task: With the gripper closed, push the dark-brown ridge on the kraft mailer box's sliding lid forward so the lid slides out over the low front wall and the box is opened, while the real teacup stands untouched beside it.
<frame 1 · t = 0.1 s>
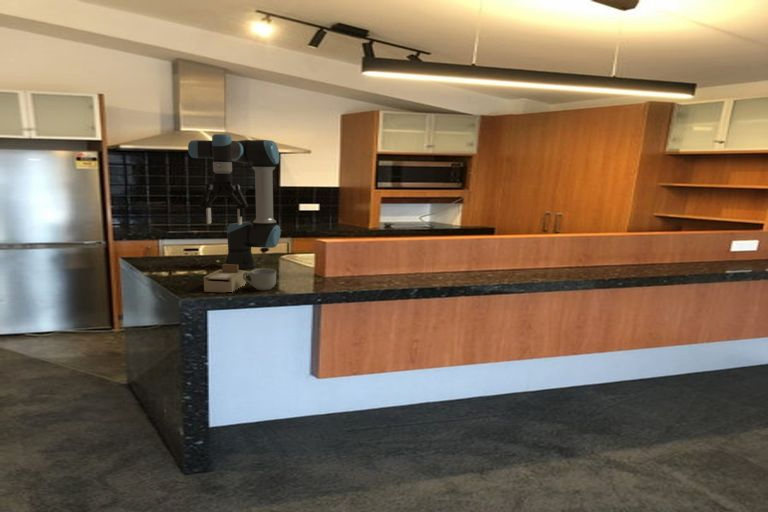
hand: (224, 224, 221), 28 cm above the counter, fingers open, 13 cm apart
teacup: (260, 289, 227), on the counter
mailer box: (225, 287, 227), on the counter
lid: (225, 271, 226), point 7 cm above the counter, slide at 0.0 cm
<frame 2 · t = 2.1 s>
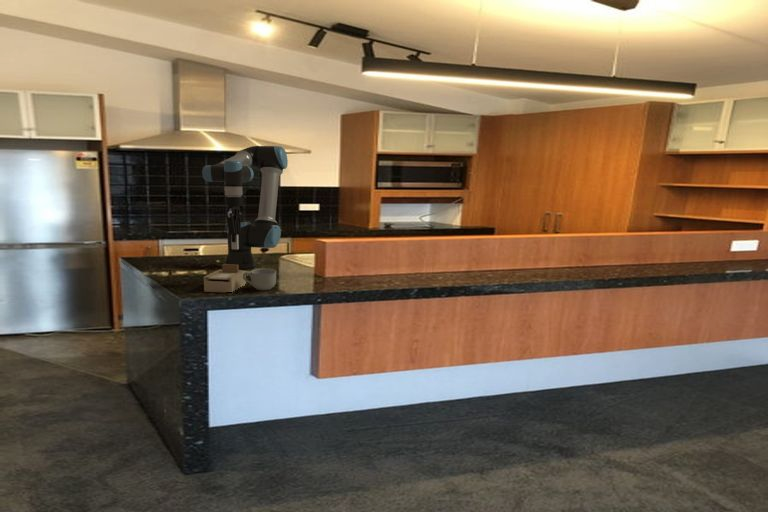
hand: (235, 249, 236), 15 cm above the counter, fingers closed
nothing on the counter moved.
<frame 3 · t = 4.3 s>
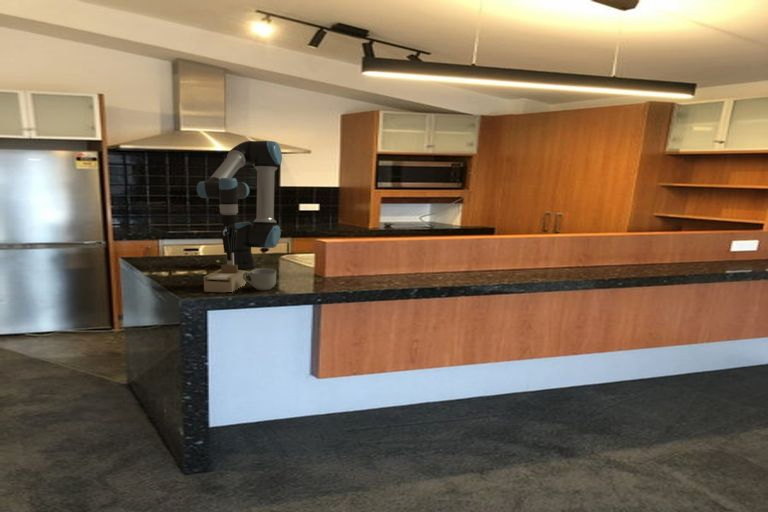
hand: (230, 267, 232), 8 cm above the counter, fingers closed
lid: (224, 271, 225), point 7 cm above the counter, slide at 0.9 cm, touching gripper
everything else where it was.
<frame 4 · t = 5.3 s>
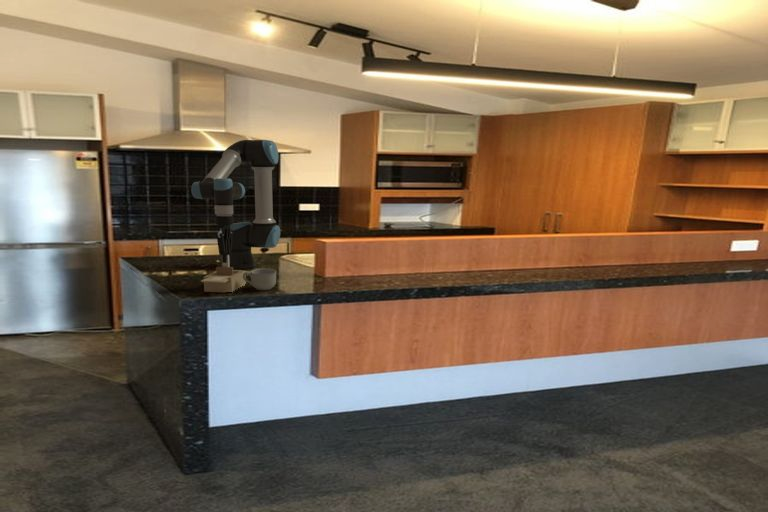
hand: (226, 269, 227), 8 cm above the counter, fingers closed
lid: (219, 274, 220), point 7 cm above the counter, slide at 5.9 cm, touching gripper
everything else where it was.
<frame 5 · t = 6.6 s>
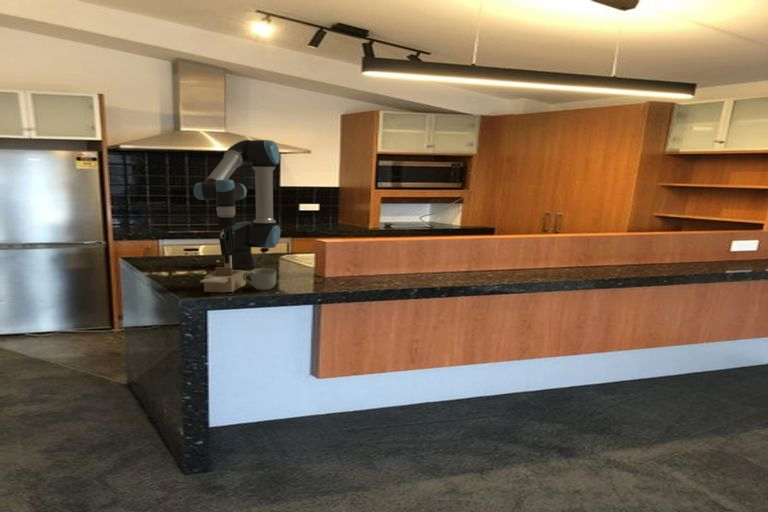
hand: (228, 270, 229), 7 cm above the counter, fingers closed
lid: (218, 274, 219), point 7 cm above the counter, slide at 6.8 cm
everything else where it was.
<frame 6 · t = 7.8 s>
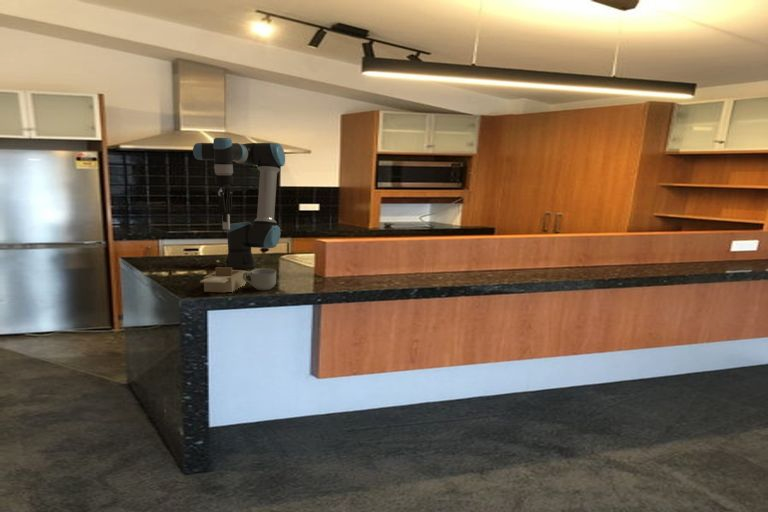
hand: (226, 229, 230), 25 cm above the counter, fingers closed
nothing on the counter moved.
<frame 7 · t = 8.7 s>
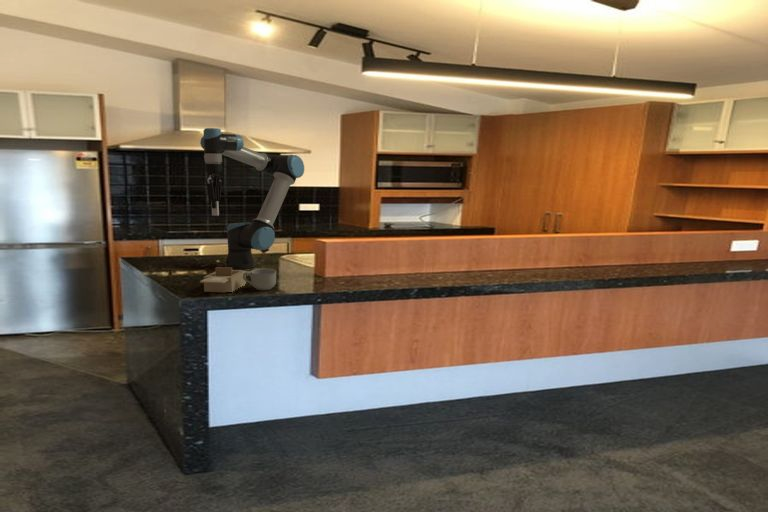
hand: (215, 215, 242), 29 cm above the counter, fingers closed
nothing on the counter moved.
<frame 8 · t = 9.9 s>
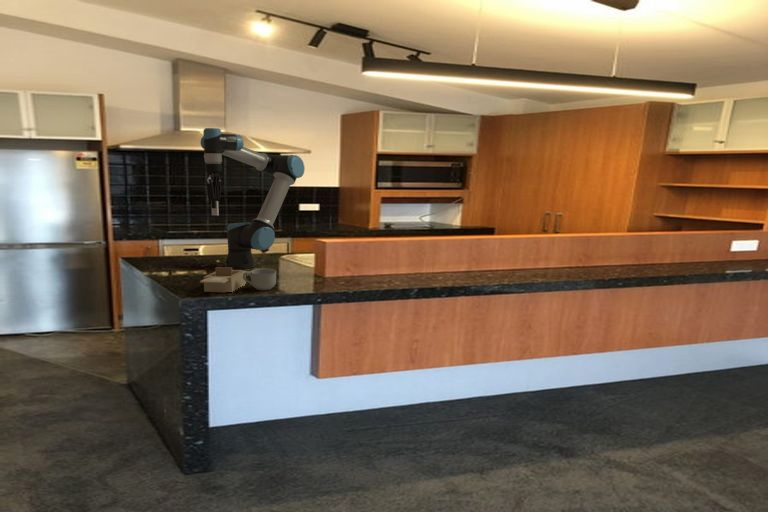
hand: (215, 215, 242), 29 cm above the counter, fingers closed
nothing on the counter moved.
at the end: lid slide at 6.8 cm; lid touching nothing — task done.
